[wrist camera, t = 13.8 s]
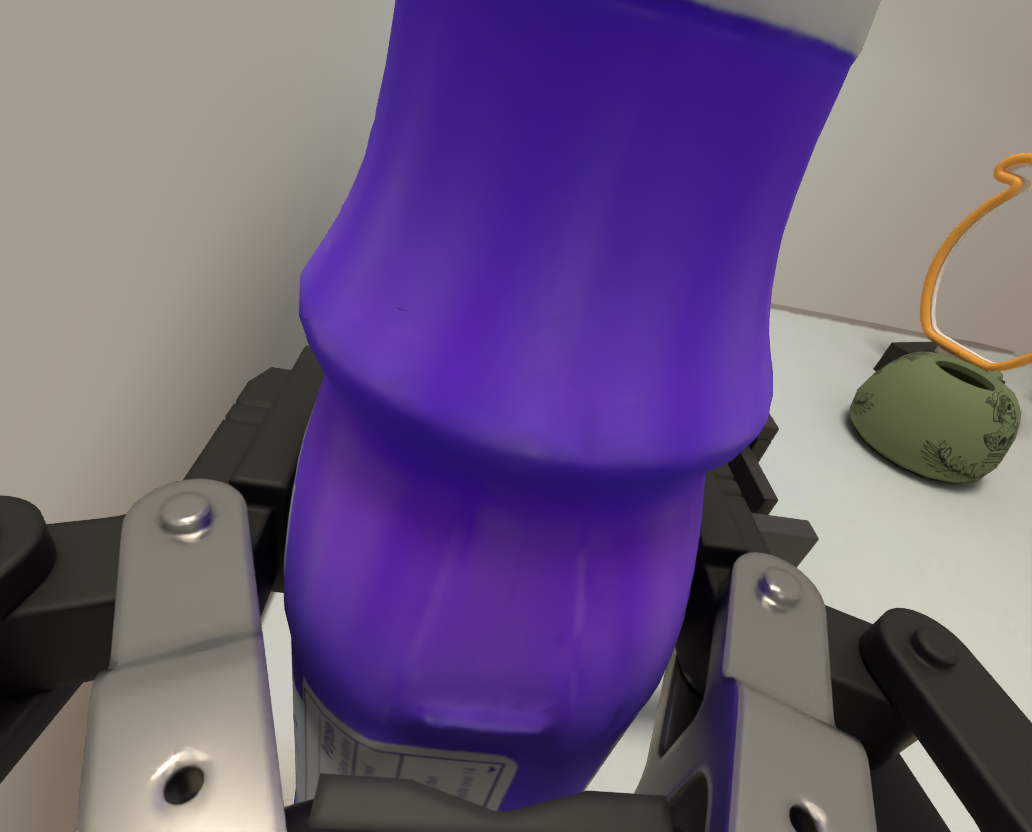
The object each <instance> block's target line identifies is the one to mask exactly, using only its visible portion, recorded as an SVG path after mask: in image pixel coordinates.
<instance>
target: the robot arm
mask: <svg viewBox="0 0 1032 832" xmlns="http://www.w3.org/2000/svg"><path fill="white" fill-rule="evenodd" d="M324 376H325V373H324V371H323V369H322V368H321V366H320V364H319V362H318V360H317V359H316V357H315V355H314V353H313V351H312V349H311V347H310V346H309V345H307V346H305V348H304V349H303V351H302V352H301V354H300V356H299V358H298V359H297V361H296V363H295V365H294V367H293V368H292V370H286V369H280V368H274V367H271V368H270V369H268V370H266V371H265V372H263V373H262V374H260V375H258V376H257V377H255V378H253V379H252V380H250V381H249V382H248V383H247V385H246V386H245V388H244V389H243V391H242V392H241V394H240V395H239V397H238V398H237V400H236V404H234V405H233V406H232V407H231V409H230V410H229V412H228V413H227V415H226V419H225V420H223V421H222V422H221V424H220V425H219V427H218V428H217V430H216V431H215V433H214V434H213V436H212V437H211V439H210V441H209V442H208V443H207V445H206V446H205V448H204V449H203V451H202V452H201V454H200V455H199V457H198V458H197V460H196V461H195V463H194V464H193V466H192V468H191V469H190V470H189V472H188V473H187V475H186V476H185V478H184V479H183V480H182V481H176V482H173V483H169V484H166V485H164V486H161V487H159V488H156V489H155V490H153V491H151V492H149V493H147V494H146V495H144V496H143V497H142V498H141V499H139V500H138V501H137V502H136V503H135V504H134V505H133V506H132V507H131V508H130V509H129V511H128V512H127V514H124V515H120V516H115V517H108V518H100V519H91V520H83V521H73V522H64V523H55V524H46V523H45V520H44V518H43V516H42V514H41V512H40V510H39V509H38V508H37V507H36V506H35V505H33V504H32V503H30V502H28V501H26V500H23V499H20V498H16V497H11V496H0V783H1V782H2V781H3V780H4V778H5V777H6V776H7V775H8V773H9V772H10V771H11V770H12V769H13V767H14V766H15V765H16V764H17V762H18V761H19V760H20V759H21V758H22V756H23V755H24V754H25V753H26V752H27V750H28V749H29V748H30V747H31V745H32V744H33V743H34V742H35V741H36V739H37V738H38V737H39V736H40V734H41V733H42V732H43V731H44V730H45V728H46V727H47V726H48V725H49V723H50V722H51V721H52V720H53V718H54V717H55V716H56V715H57V713H58V712H59V711H60V710H61V709H62V707H63V706H64V705H65V704H66V703H67V701H68V700H69V699H70V698H71V697H72V695H73V694H74V693H75V692H76V690H77V689H78V688H79V687H80V685H81V684H82V683H83V682H88V681H92V680H94V683H93V686H92V690H91V695H90V702H89V710H88V719H87V728H86V738H85V747H84V757H83V765H82V774H81V784H80V793H79V803H78V812H77V821H76V830H75V832H951V831H950V830H949V828H948V827H947V825H946V824H945V822H944V821H943V819H942V818H941V816H940V815H939V813H938V811H937V810H936V808H935V807H934V805H933V804H932V802H931V801H930V799H929V798H928V796H927V795H926V793H925V792H924V790H923V789H922V787H921V786H920V784H919V783H918V781H917V780H916V778H915V776H914V775H913V773H912V772H911V770H910V769H909V767H908V766H907V764H906V763H905V761H904V760H903V758H902V757H901V755H900V754H899V753H900V752H901V751H903V750H904V749H906V748H907V747H908V746H910V745H911V744H913V743H914V742H915V741H917V740H919V741H920V743H921V744H922V746H923V747H924V749H925V750H926V752H927V753H928V754H929V756H930V757H931V759H932V760H933V762H934V763H935V765H936V766H937V767H938V769H939V770H940V772H941V773H942V775H943V776H944V778H945V779H946V780H947V782H948V783H949V785H950V786H951V788H952V789H953V790H954V792H955V793H956V795H957V796H958V798H959V799H960V801H961V802H962V803H963V805H964V806H965V808H966V809H967V811H968V812H969V814H970V815H971V816H972V818H973V819H974V821H975V822H976V824H977V826H978V827H979V829H980V831H981V832H1032V723H1031V722H1030V720H1029V719H1028V718H1027V717H1026V716H1025V715H1024V713H1023V712H1022V711H1021V710H1020V709H1019V708H1018V706H1017V705H1016V704H1015V703H1014V702H1013V701H1012V699H1011V698H1010V697H1009V696H1008V695H1007V694H1006V692H1005V691H1004V690H1003V689H1002V688H1001V687H1000V685H999V684H998V683H997V682H996V681H995V680H994V678H993V677H992V676H991V675H990V674H989V673H988V671H987V670H986V669H985V668H984V667H983V666H982V664H981V663H980V662H979V661H978V660H977V659H976V657H975V656H974V655H973V654H972V653H971V652H970V650H969V649H968V648H967V647H966V646H965V645H964V644H963V643H962V642H961V641H960V640H959V639H958V638H957V637H956V636H955V635H954V634H953V633H952V632H950V631H949V630H948V629H947V628H945V627H944V626H943V625H941V624H940V623H938V622H937V621H935V620H933V619H931V618H930V617H928V616H926V615H924V614H921V613H919V612H916V611H913V610H910V609H905V608H894V609H890V610H888V611H886V612H885V613H884V614H883V615H882V616H881V617H880V618H879V619H878V620H877V621H876V622H875V623H874V624H871V623H868V622H866V621H863V620H861V619H858V618H856V617H853V616H851V615H848V614H846V613H843V612H841V611H838V610H836V609H833V608H831V607H828V606H826V605H825V604H824V601H823V599H822V597H821V595H820V593H819V591H818V590H817V588H816V587H815V585H814V584H813V583H812V582H811V581H810V580H809V579H808V577H806V576H805V575H804V574H803V573H802V572H801V571H800V570H798V569H797V568H796V567H794V566H793V565H791V564H790V563H788V562H786V561H784V560H782V559H780V558H778V557H775V556H773V555H771V553H770V551H769V549H768V547H767V545H766V542H765V540H764V538H763V536H762V534H761V532H760V530H759V528H758V526H757V524H756V522H755V520H754V518H753V515H752V513H751V511H750V509H749V507H748V505H747V503H746V501H745V499H744V498H743V497H741V494H742V493H741V491H740V488H739V486H738V484H737V482H736V481H733V478H734V476H733V474H732V472H731V470H730V468H729V466H728V463H726V464H724V465H722V466H721V467H718V468H716V469H713V470H710V471H707V472H706V475H705V485H704V497H703V509H702V521H701V528H700V536H699V543H698V550H697V555H696V561H695V569H694V573H693V578H692V584H691V589H690V594H689V599H688V603H687V606H686V610H685V617H684V621H683V624H682V627H681V630H680V633H679V636H678V639H677V642H676V645H675V650H674V652H673V653H672V656H671V658H670V660H669V662H668V665H667V667H666V670H665V675H664V679H663V684H662V689H661V694H660V699H659V704H658V709H657V714H656V719H655V724H654V729H653V734H652V739H651V743H650V748H649V753H648V758H647V762H646V766H645V769H644V772H643V775H642V778H641V780H640V782H639V784H638V786H637V788H636V791H635V793H634V794H630V793H615V792H599V791H584V792H580V793H576V794H572V795H568V796H564V797H561V798H557V799H553V800H549V801H545V802H541V803H538V804H534V805H530V806H526V807H522V808H518V809H515V810H511V811H504V812H502V811H495V810H491V809H489V808H486V807H483V806H481V805H478V804H475V803H473V802H470V801H467V800H465V799H462V798H459V797H457V796H454V795H452V794H449V793H446V792H444V791H441V790H438V789H436V788H433V787H430V786H428V785H425V784H422V783H420V782H417V781H415V780H412V779H401V778H386V777H371V776H355V775H340V774H325V773H320V776H319V780H318V785H317V789H316V793H315V797H314V799H311V800H307V801H303V802H299V803H295V804H292V805H290V806H287V807H284V804H283V796H282V787H281V779H280V771H279V763H278V755H277V747H276V738H275V730H274V722H273V714H272V706H271V697H270V689H269V681H268V673H267V665H266V657H265V649H264V641H263V633H262V628H261V620H260V617H261V615H262V612H263V610H264V607H265V605H266V602H267V599H268V597H269V594H270V592H271V591H272V592H281V593H284V570H283V569H284V555H285V545H286V536H287V527H288V517H289V511H290V504H291V498H292V492H293V486H294V482H295V476H296V470H297V464H298V459H299V455H300V450H301V446H302V442H303V437H304V434H305V431H306V428H307V425H308V422H309V419H310V416H311V414H312V411H313V408H314V405H315V402H316V399H317V395H318V391H319V389H320V386H321V383H322V381H323V378H324Z"/></svg>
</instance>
